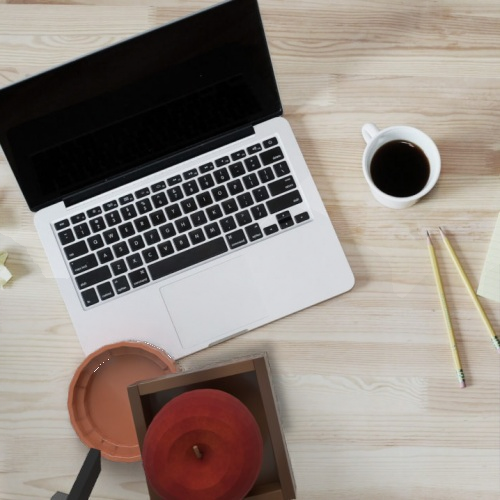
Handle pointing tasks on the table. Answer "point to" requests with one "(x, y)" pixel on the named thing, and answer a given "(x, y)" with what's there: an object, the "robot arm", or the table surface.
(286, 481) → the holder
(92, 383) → the bowl
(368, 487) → the table surface
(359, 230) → the table surface
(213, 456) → the apple
